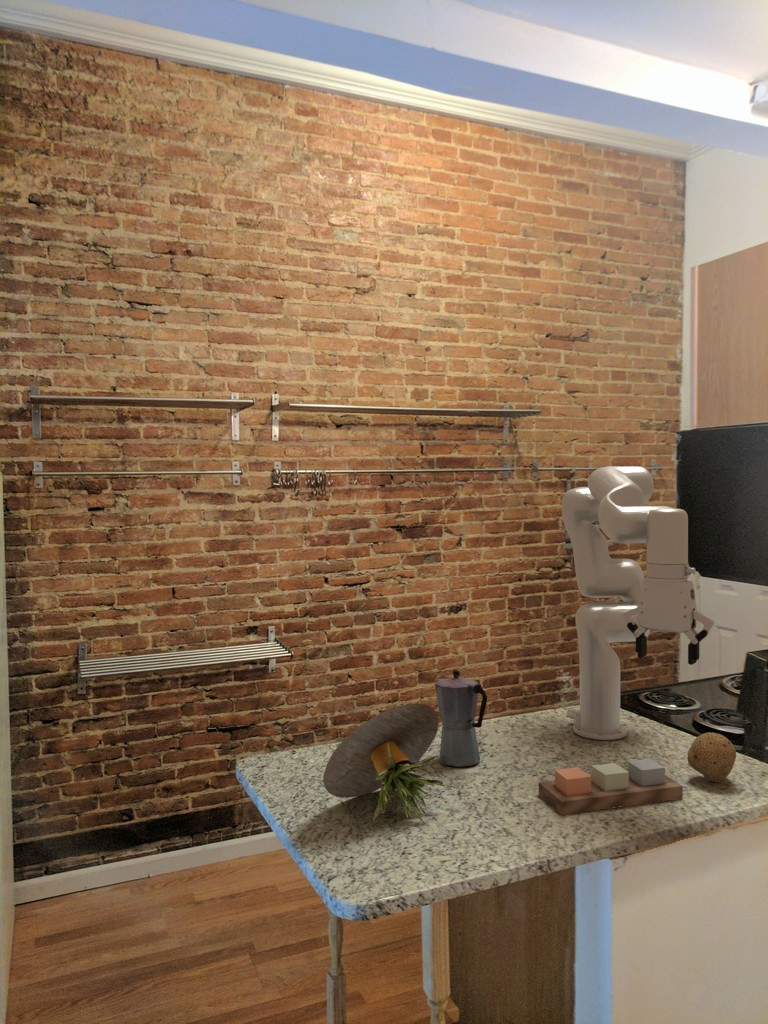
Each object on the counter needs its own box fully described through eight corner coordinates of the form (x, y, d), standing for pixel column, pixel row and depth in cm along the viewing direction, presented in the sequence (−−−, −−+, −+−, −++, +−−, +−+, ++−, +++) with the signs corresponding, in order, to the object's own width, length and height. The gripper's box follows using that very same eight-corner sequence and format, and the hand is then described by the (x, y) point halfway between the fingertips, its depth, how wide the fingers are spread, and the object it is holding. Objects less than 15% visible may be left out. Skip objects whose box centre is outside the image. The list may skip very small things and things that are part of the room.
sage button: (605, 795, 150) (605, 774, 150) (591, 785, 155) (591, 765, 155) (628, 792, 151) (628, 772, 151) (614, 782, 156) (614, 763, 156)
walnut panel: (561, 814, 145) (561, 801, 145) (538, 794, 154) (538, 782, 154) (682, 798, 152) (682, 785, 152) (653, 780, 161) (653, 768, 161)
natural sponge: (687, 786, 157) (687, 737, 157) (686, 770, 166) (687, 724, 165) (737, 792, 154) (737, 742, 154) (734, 776, 163) (734, 728, 162)
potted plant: (324, 871, 139) (387, 796, 126) (295, 782, 151) (350, 705, 138) (435, 850, 154) (501, 780, 141) (401, 770, 165) (459, 698, 152)
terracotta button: (567, 800, 148) (567, 779, 148) (554, 790, 153) (554, 770, 152) (591, 797, 149) (591, 776, 149) (578, 787, 154) (578, 767, 154)
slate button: (642, 790, 152) (642, 770, 152) (627, 781, 157) (627, 761, 157) (664, 787, 153) (665, 767, 153) (649, 778, 158) (649, 758, 158)
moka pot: (449, 747, 182) (448, 661, 181) (503, 764, 171) (502, 673, 170) (421, 758, 175) (420, 669, 174) (475, 776, 164) (474, 681, 163)
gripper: (719, 573, 150) (719, 662, 150) (630, 567, 160) (630, 651, 161) (707, 577, 144) (707, 670, 145) (616, 571, 155) (616, 657, 155)
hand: (666, 660), depth 153 cm, fingers open, 9 cm apart
